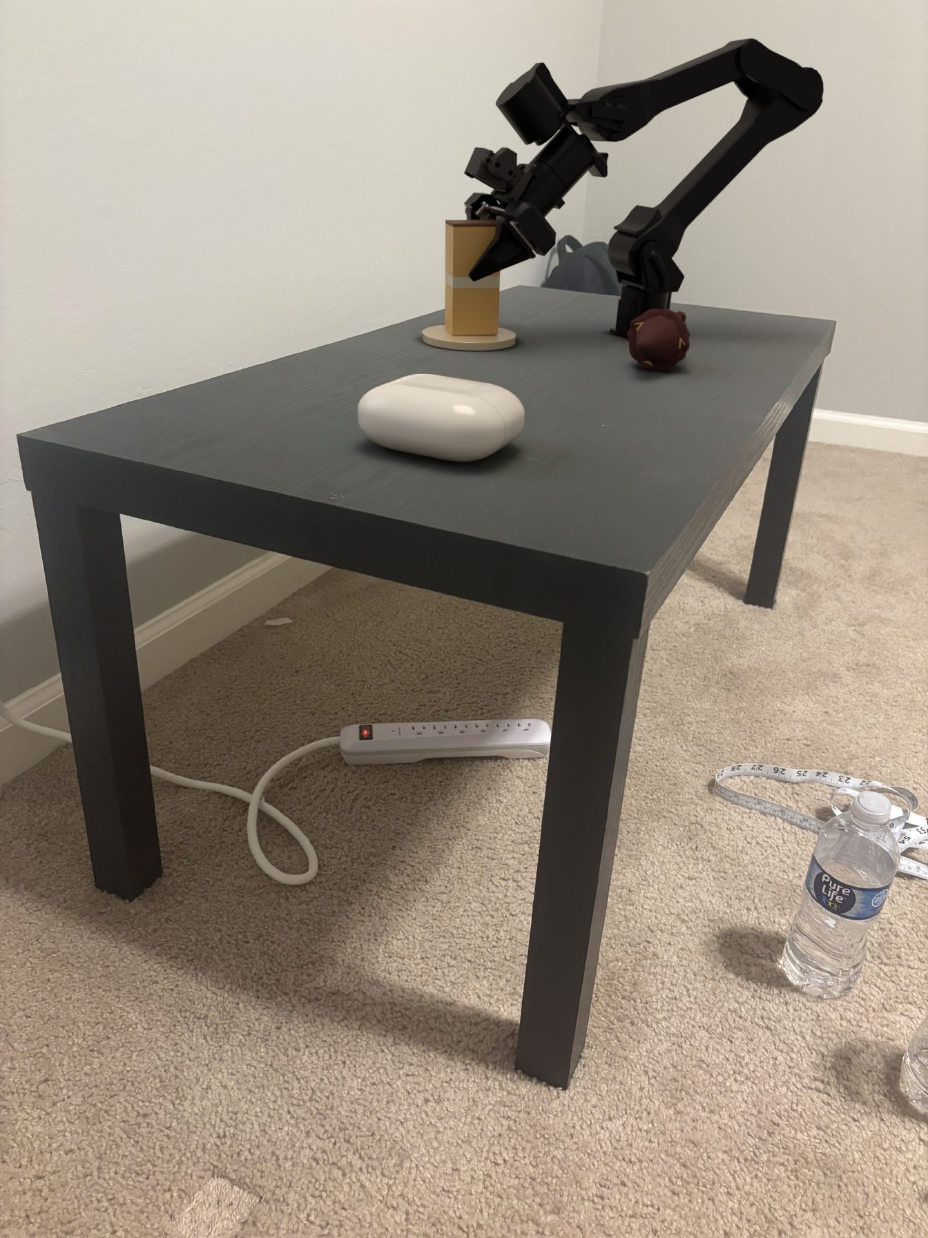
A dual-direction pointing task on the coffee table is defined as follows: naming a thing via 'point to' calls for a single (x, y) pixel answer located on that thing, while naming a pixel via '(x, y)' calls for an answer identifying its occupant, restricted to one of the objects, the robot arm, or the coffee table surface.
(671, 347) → the maroon dungeon die
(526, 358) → the coffee table surface
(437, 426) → the earbud case
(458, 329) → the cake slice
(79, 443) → the coffee table surface
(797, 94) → the robot arm
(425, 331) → the plate
